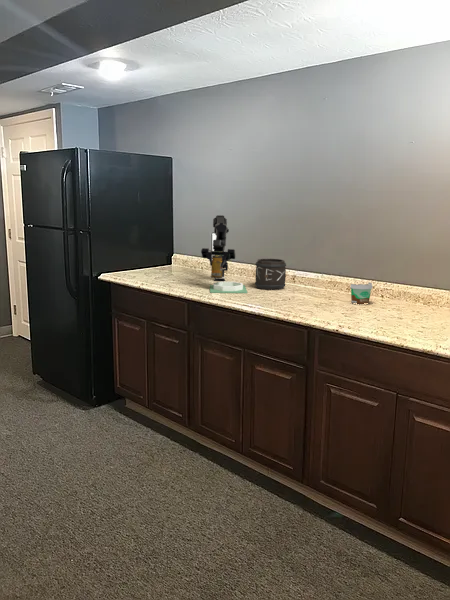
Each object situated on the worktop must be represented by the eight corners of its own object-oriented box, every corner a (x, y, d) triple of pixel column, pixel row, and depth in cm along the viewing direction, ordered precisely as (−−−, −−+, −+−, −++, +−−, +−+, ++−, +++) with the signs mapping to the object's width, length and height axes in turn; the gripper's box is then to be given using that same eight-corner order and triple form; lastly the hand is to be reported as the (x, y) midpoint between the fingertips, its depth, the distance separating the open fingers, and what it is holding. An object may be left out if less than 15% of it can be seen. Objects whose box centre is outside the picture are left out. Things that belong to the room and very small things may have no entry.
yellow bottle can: (218, 275, 292) (218, 254, 290) (227, 278, 286) (228, 256, 283) (207, 276, 288) (208, 255, 285) (216, 279, 281) (217, 257, 279)
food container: (357, 306, 250) (358, 285, 248) (348, 303, 255) (350, 283, 253) (376, 304, 255) (378, 284, 253) (368, 301, 261) (369, 282, 259)
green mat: (209, 285, 298) (209, 284, 298) (244, 286, 299) (244, 285, 299) (210, 292, 277) (210, 291, 277) (247, 293, 278) (247, 292, 277)
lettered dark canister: (249, 289, 290) (250, 261, 287) (259, 284, 306) (260, 257, 303) (280, 291, 283) (281, 263, 280) (289, 286, 300) (290, 259, 296)
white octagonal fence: (213, 285, 295) (213, 281, 295) (241, 286, 296) (241, 281, 295) (213, 290, 280) (213, 286, 279) (243, 291, 280) (243, 286, 280)
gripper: (201, 233, 287) (197, 256, 279) (235, 234, 284) (231, 257, 276) (204, 246, 296) (200, 268, 288) (237, 247, 293) (233, 269, 285)
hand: (216, 265), depth 284 cm, fingers closed on yellow bottle can, 6 cm apart
